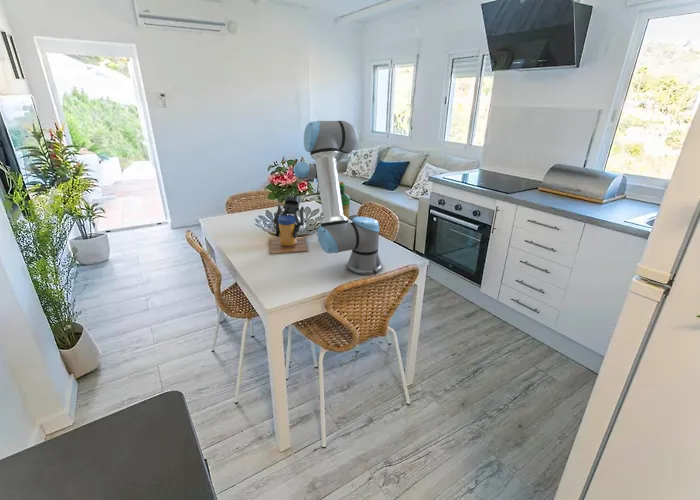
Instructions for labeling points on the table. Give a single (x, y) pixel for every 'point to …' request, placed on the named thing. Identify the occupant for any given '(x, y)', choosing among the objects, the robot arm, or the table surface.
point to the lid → (286, 219)
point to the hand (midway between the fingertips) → (285, 236)
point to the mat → (288, 246)
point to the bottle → (344, 200)
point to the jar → (287, 234)
